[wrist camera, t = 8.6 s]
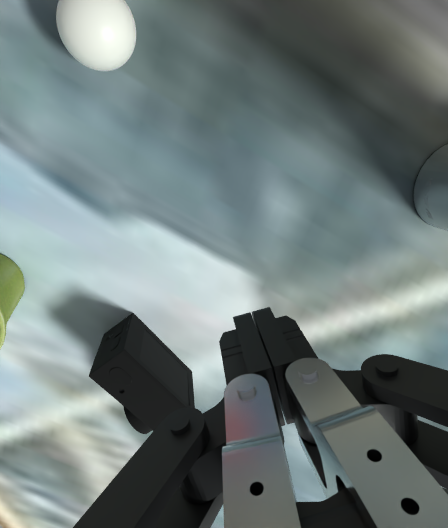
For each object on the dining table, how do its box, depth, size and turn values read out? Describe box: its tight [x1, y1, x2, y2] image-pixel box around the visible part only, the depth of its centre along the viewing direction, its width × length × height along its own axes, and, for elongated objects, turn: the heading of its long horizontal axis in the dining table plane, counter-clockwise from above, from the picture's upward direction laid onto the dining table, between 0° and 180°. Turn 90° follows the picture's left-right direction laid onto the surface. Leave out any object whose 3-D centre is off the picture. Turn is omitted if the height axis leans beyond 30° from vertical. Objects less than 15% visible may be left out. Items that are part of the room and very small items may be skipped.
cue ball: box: [56, 0, 136, 71], centre depth 25 cm, size 6×6×6 cm
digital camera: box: [89, 313, 195, 434], centre depth 35 cm, size 10×5×7 cm, turn 36°
